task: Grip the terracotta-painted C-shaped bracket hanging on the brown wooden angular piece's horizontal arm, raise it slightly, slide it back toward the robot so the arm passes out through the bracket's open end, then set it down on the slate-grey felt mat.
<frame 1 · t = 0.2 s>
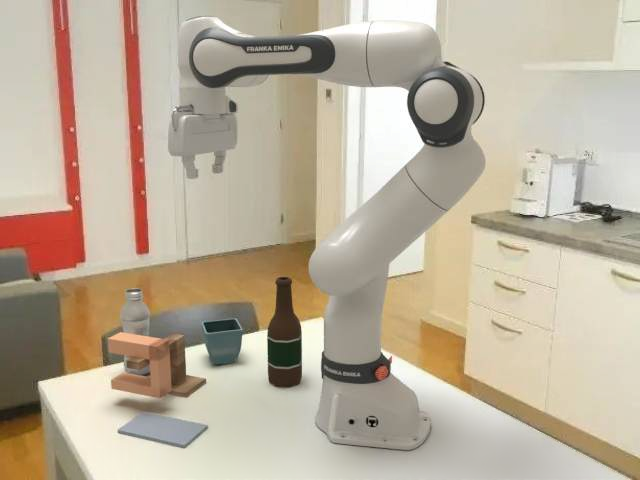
hand: (205, 175, 130), 47 cm above the table, tool pointing down, fingers open, 8 cm apart
beer bottle: (285, 381, 147), on the table
felt mat: (163, 430, 125), on the table
brown wooden angular piece: (177, 386, 144), on the table
c link: (141, 389, 134), point 4 cm above the table, touching brown wooden angular piece
plastic bottle: (139, 374, 151), on the table
flower pot: (222, 361, 159), on the table
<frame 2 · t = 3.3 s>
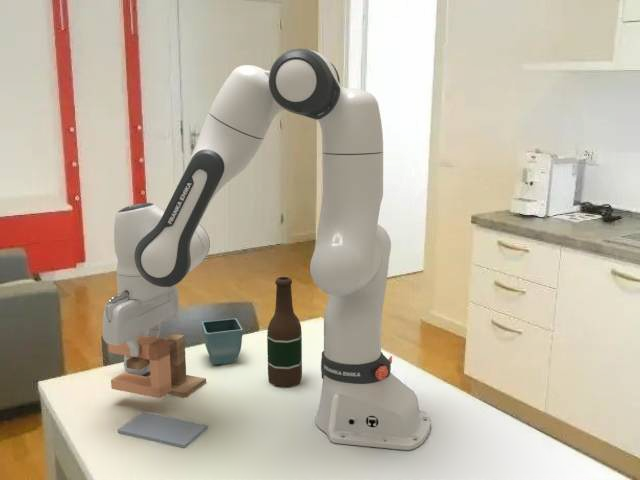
hand: (144, 350, 132), 12 cm above the table, tool pointing down, fingers closed on c link, 4 cm apart
c link: (141, 389, 134), point 4 cm above the table, touching gripper, brown wooden angular piece
everything else where it was.
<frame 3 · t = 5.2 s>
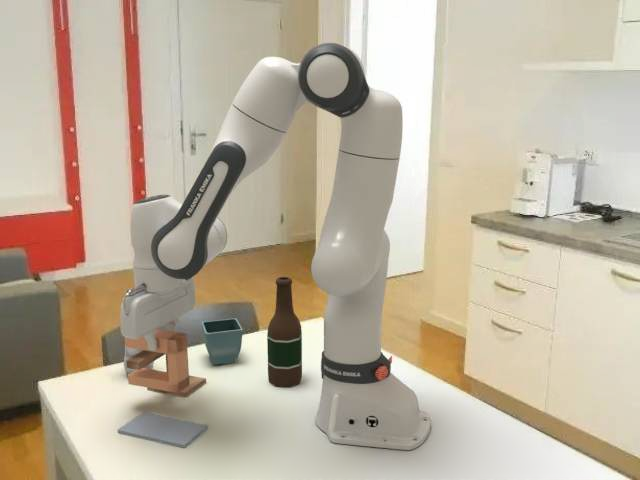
hand: (162, 344, 130), 14 cm above the table, tool pointing down, fingers closed on c link, 4 cm apart
c link: (158, 384, 133), point 5 cm above the table, touching gripper
everything else where it was.
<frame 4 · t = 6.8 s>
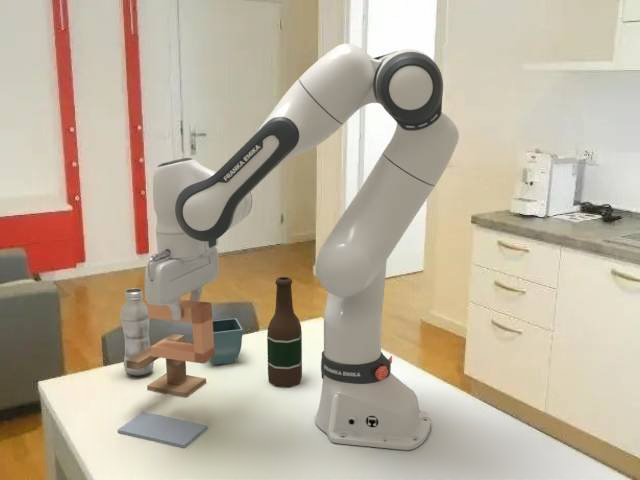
hand: (186, 314, 126), 21 cm above the table, tool pointing down, fingers closed on c link, 4 cm apart
c link: (183, 356, 129), point 13 cm above the table, touching gripper
everything else where it was.
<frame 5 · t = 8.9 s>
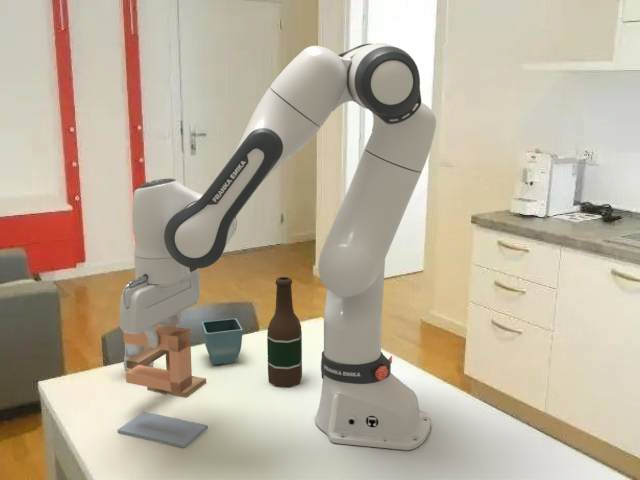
hand: (163, 340, 121), 18 cm above the table, tool pointing down, fingers closed on c link, 4 cm apart
c link: (159, 383, 123), point 10 cm above the table, touching gripper
everything else where it was.
when the fingers open (11 cm above the table, at t = 10.6 s): c link drops 1 cm, resting on felt mat.
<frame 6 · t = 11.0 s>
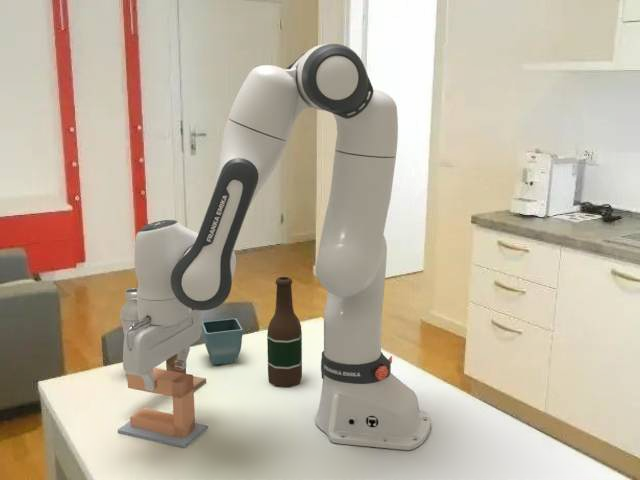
hand: (166, 378, 122), 11 cm above the table, tool pointing down, fingers open, 8 cm apart
c link: (162, 427, 125), point 1 cm above the table, touching felt mat
everything else where it was.
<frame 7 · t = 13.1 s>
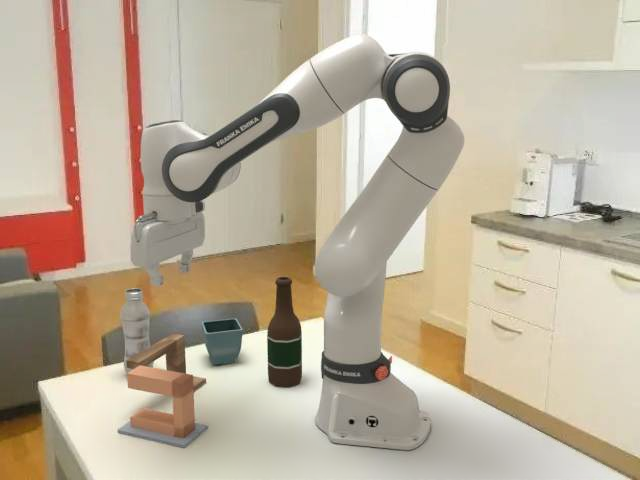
hand: (171, 278, 126), 28 cm above the table, tool pointing down, fingers open, 8 cm apart
nothing on the table moved.
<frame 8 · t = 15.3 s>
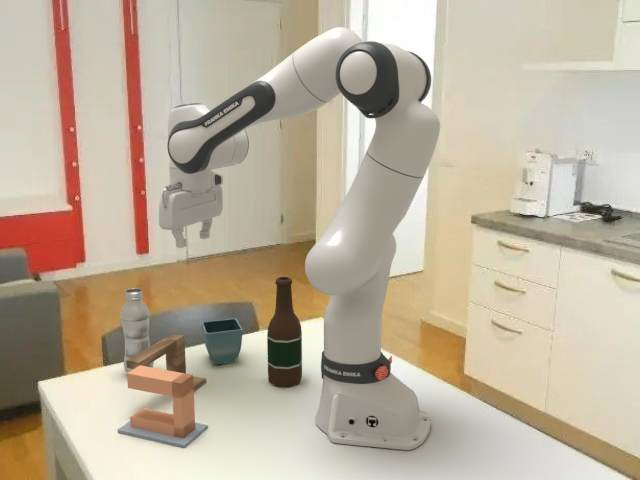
hand: (193, 242, 144), 31 cm above the table, tool pointing down, fingers open, 8 cm apart
nothing on the table moved.
at the end: c link inside the target area on the felt mat (0.0 cm from its centre), point 0.6 cm above the felt mat's base; c link touching felt mat; the gripper is holding nothing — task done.
